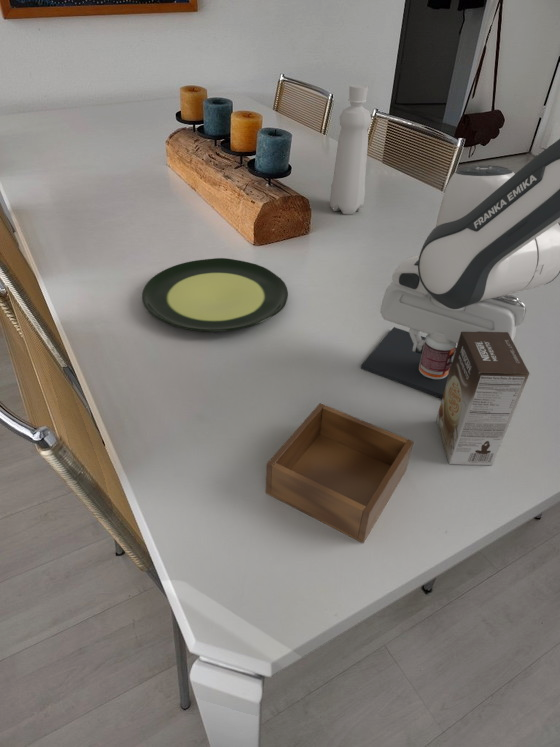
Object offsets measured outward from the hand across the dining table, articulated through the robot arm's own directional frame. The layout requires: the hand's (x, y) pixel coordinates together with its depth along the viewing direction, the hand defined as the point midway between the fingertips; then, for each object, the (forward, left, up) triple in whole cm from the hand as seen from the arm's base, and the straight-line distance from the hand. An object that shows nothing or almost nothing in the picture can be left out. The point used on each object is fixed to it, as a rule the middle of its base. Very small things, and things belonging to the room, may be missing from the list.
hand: (436, 357), depth 87 cm
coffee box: (-9, +13, -4) cm, 16 cm away
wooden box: (+3, +29, -4) cm, 29 cm away
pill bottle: (0, 0, -3) cm, 3 cm away
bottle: (+45, -58, -4) cm, 73 cm away
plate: (+44, +1, -4) cm, 44 cm away
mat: (+1, -2, -4) cm, 4 cm away
